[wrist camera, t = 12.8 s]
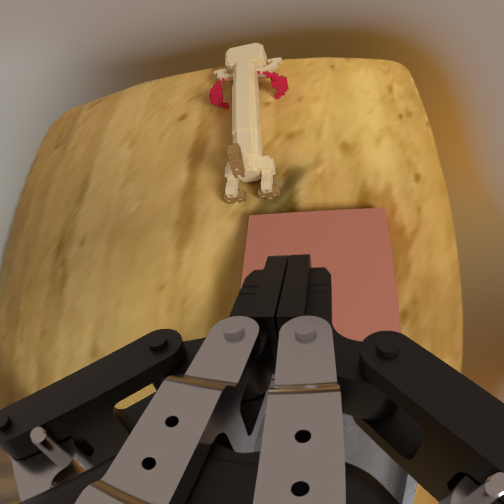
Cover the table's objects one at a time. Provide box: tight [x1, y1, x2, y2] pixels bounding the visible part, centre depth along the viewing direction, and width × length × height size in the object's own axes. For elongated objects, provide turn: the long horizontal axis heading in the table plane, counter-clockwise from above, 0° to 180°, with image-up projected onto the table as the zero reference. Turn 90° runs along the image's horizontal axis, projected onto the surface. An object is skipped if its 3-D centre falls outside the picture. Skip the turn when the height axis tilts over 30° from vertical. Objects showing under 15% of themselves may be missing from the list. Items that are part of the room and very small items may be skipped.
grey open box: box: [254, 379, 417, 504], centre depth 21 cm, size 14×17×5 cm
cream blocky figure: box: [209, 43, 289, 203], centre depth 33 cm, size 10×9×25 cm
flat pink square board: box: [240, 208, 401, 379], centre depth 26 cm, size 2×14×15 cm
